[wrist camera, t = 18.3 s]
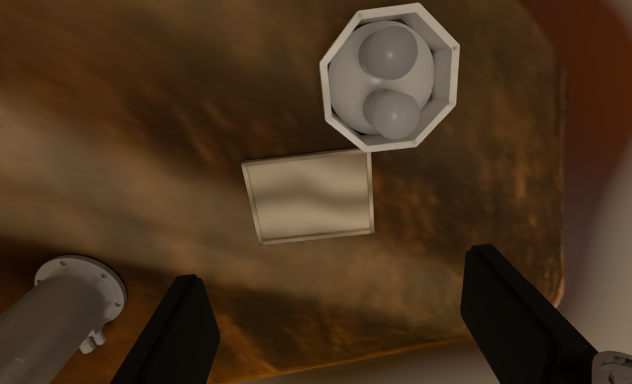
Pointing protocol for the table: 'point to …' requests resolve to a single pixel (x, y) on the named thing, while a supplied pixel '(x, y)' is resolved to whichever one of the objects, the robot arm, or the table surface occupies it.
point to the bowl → (420, 82)
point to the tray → (311, 195)
